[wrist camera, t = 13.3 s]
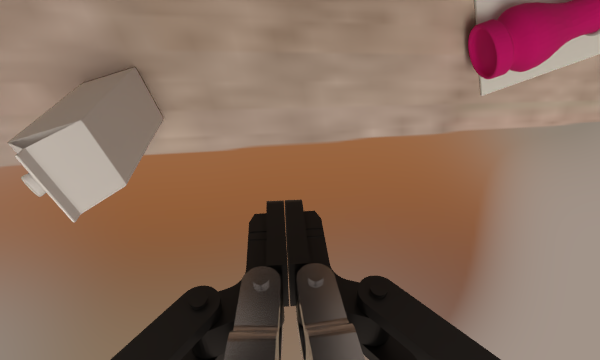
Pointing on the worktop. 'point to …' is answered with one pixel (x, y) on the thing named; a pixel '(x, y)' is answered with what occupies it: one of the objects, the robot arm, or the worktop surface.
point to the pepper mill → (529, 35)
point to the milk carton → (89, 141)
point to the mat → (491, 6)
